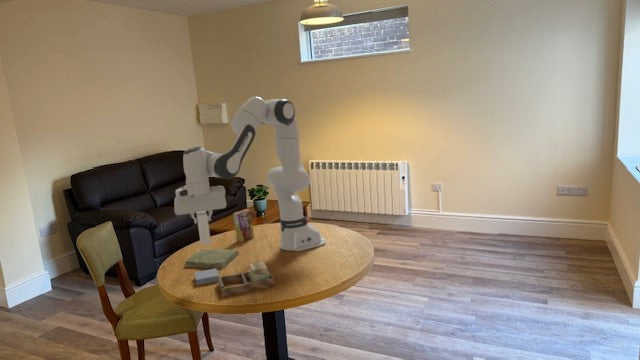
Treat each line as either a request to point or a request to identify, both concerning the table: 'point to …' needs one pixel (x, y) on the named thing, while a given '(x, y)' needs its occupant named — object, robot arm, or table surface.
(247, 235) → the candy box
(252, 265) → the offcut top
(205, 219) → the tall white box
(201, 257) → the decorative tile
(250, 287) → the walnut rack
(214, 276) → the slate plinth
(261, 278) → the block
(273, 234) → the table surface
